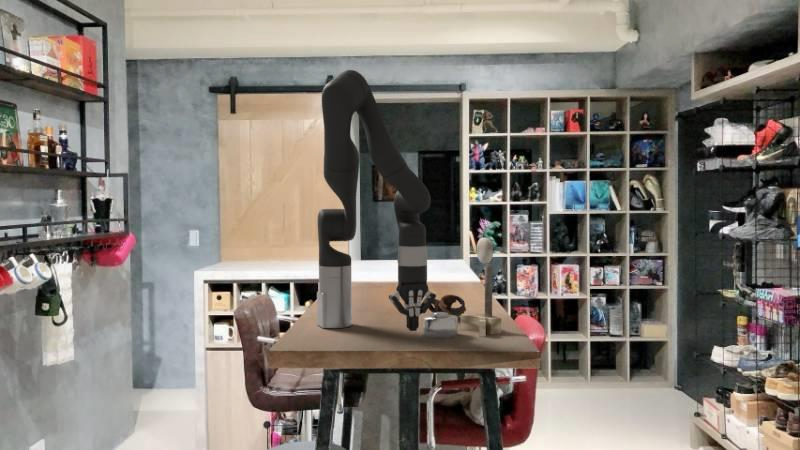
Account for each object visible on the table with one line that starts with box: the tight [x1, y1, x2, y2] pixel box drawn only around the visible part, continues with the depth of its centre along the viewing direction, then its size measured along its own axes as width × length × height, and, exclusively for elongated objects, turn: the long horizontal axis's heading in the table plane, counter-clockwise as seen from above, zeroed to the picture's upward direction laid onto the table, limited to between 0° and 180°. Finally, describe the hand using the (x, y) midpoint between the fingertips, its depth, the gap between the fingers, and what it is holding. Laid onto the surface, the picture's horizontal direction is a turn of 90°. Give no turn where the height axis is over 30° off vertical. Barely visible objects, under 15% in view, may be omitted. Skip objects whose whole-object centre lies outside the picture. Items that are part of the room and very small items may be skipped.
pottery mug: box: [428, 294, 467, 317], centre depth 193 cm, size 12×10×8 cm
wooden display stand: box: [460, 237, 502, 337], centre depth 173 cm, size 7×12×26 cm, turn 23°
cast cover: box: [422, 312, 459, 340], centre depth 169 cm, size 9×9×6 cm
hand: (412, 330), depth 165 cm, fingers closed
